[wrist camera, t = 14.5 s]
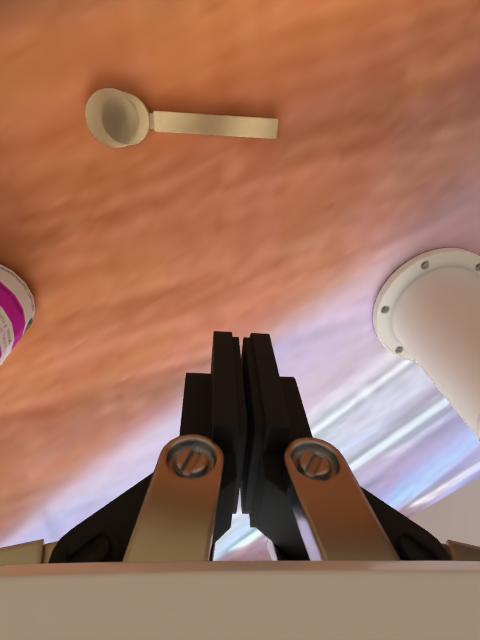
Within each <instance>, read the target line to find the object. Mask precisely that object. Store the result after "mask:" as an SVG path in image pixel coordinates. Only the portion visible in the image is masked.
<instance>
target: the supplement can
mask: <svg viewBox="0 0 480 640" xmlns="http://www.w3.org/2000/svg"><path fill="white" fill-rule="evenodd" d="M34 314H35V304H34V297H33V295H32V293H31V292H30V290H29V288H28V286H27V285H26V283H25V282H24V281H23V280H22V279H21V278H20V277H19V276H18V275H17V274H16V273H15V272H13V271H12V270H10V269H8V268H6V267H5V266H3V265H1V264H0V365H1V364H2V363H3V361H4V360H5V359H6V357H7V356H8V355H9V353H10V352H11V351H12V349H13V348H14V346H15V345H16V344H17V342H18V341H19V340H20V338H21V337H22V336H23V334H24V333H25V332H26V330H27V329H28V328H29V326H30V325H31V324H32V321H33V318H34Z"/></svg>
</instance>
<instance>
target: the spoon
mask: <svg viewBox="0 0 480 640" xmlns="http://www.w3.org/2000/svg"><path fill="white" fill-rule="evenodd" d="M153 112H154V113H152V112H149V110H148V108H147V106H146V105H145V103H144V102H143V101H142V100H141V99H140V98H139V97H138V96H136V95H134V94H132V93H129V92H124V91H122V90H120V89H116V88H102V89H99V90H97V91H96V92H94V93H93V94H92V95H91V96H90V98H89V99H88V101H87V104H86V107H85V119H86V123H87V126H88V128H89V130H90V132H91V133H92V135H93V136H94V137H95V138H96V139H97V140H98V141H99V142H101V143H102V144H104V145H106V146H109V147H114V148H119V147H124V146H126V145H135V144H137V143H139V142H141V141H142V140H143V139H144V138H145V137H146V136H147V134H148V132H149V130H150V129H154V131H156V132H173V133H189V134H206V135H222V136H238V137H255V138H271V139H276V138H277V130H278V119H276V118H261V117H246V116H231V115H216V114H201V113H186V112H171V111H156V110H155V111H153Z"/></svg>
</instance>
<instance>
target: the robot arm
mask: <svg viewBox="0 0 480 640" xmlns="http://www.w3.org/2000/svg"><path fill="white" fill-rule="evenodd" d="M373 325H374V330H375V332H376V335H377V337H378V338H379V340H380V341H381V343H382V344H383V345H384V347H385V348H386V349H387V350H388V351H389V352H391V353H392V354H394V355H395V356H398V357H400V358H403V359H406V360H412V361H416V362H417V363H418V364H419V366H420V367H421V368H422V369H423V371H424V372H425V373H426V374H427V376H428V377H429V378H430V379H431V381H432V382H433V383H434V384H435V385H436V387H437V388H438V389H439V390H440V392H441V393H442V394H443V395H444V397H445V398H446V399H447V400H448V402H449V403H450V404H451V405H452V407H453V408H454V409H455V410H456V412H457V413H458V414H459V415H460V417H461V418H462V419H463V420H464V421H465V423H466V424H467V425H468V426H469V428H470V429H471V430H472V431H473V433H474V434H475V435H476V436H477V438H478V439H479V440H480V256H479V255H477V254H475V253H473V252H471V251H469V250H465V249H461V248H441V249H434V250H431V251H428V252H425V253H422V254H420V255H418V256H416V257H414V258H413V259H411V260H409V261H408V262H406V263H405V264H403V265H402V266H401V267H399V268H398V269H397V270H396V271H395V272H394V273H393V274H392V275H391V276H390V277H389V279H388V280H387V281H386V283H385V284H384V285H383V287H382V288H381V290H380V292H379V294H378V296H377V299H376V302H375V305H374V309H373ZM239 490H240V493H241V507H242V513H243V514H249V516H250V527H256V528H257V529H258V530H259V531H261V532H262V533H263V534H264V535H265V536H266V537H268V539H267V546H268V552H269V555H270V559H271V561H213V557H214V551H215V542H216V541H217V540H218V539H219V538H220V537H221V536H222V535H223V534H224V533H225V532H227V531H228V530H229V529H230V527H231V520H232V514H236V511H237V504H238V497H239ZM0 640H480V547H478V546H474V545H469V544H465V543H460V542H456V541H451V540H448V541H447V542H446V544H441V543H440V542H439V541H438V539H436V538H435V537H434V536H433V535H431V534H430V533H429V532H428V531H426V530H425V529H423V528H422V527H420V526H419V525H417V524H416V523H414V522H413V521H411V520H410V519H408V518H407V517H405V516H404V515H402V514H401V513H399V512H398V511H396V510H395V509H393V508H392V507H390V506H389V505H387V504H386V503H384V502H383V501H381V500H380V499H378V498H377V497H375V496H374V495H372V494H371V493H369V492H368V491H366V490H365V489H363V488H362V487H360V486H359V484H358V482H357V480H356V478H355V477H354V475H353V473H352V471H351V469H350V467H349V466H348V464H347V462H346V460H345V458H344V457H343V455H342V454H341V453H340V451H339V450H338V449H336V448H335V447H334V446H333V445H331V444H330V443H328V442H326V441H324V440H320V439H317V438H312V434H311V431H310V427H309V424H308V421H307V417H306V414H305V410H304V407H303V404H302V400H301V397H300V393H299V390H298V387H297V383H296V380H295V378H294V377H279V373H278V368H277V364H276V360H275V356H274V352H273V348H272V343H271V339H270V335H269V334H259V333H251V334H250V338H246V337H244V339H243V346H242V355H240V345H239V337H232V332H220V331H214V334H213V348H212V362H211V374H204V373H186V378H185V388H184V398H183V407H182V417H181V427H180V436H179V437H177V438H175V439H173V440H171V441H170V442H169V443H167V444H166V445H165V446H164V448H163V449H162V451H161V453H160V456H159V458H158V461H157V464H156V467H155V470H154V472H153V473H152V474H150V475H149V476H147V477H146V478H145V479H143V480H142V481H140V482H139V483H137V484H136V485H134V486H133V487H132V488H130V489H129V490H127V491H126V492H124V493H123V494H121V495H120V496H119V497H117V498H116V499H114V500H113V501H111V502H110V503H109V504H107V505H106V506H104V507H103V508H101V509H100V510H98V511H97V512H96V513H94V514H93V515H91V516H90V517H88V518H87V519H86V520H84V521H83V522H81V523H80V524H78V525H77V526H75V527H74V528H73V529H71V530H70V531H69V532H68V533H66V534H65V535H64V536H63V537H62V538H61V539H60V540H59V541H57V542H53V543H48V544H45V543H44V539H41V540H37V541H32V542H27V543H22V544H17V545H13V546H8V547H3V548H0Z"/></svg>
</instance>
